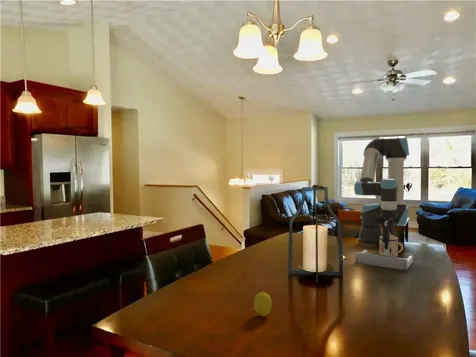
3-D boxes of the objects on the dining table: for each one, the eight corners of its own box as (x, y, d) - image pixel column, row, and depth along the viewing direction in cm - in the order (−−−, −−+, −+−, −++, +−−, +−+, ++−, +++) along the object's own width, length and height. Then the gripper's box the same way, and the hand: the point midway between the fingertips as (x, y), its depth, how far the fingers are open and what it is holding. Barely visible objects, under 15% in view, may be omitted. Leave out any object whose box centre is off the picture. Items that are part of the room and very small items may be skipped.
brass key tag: (338, 257, 178) (338, 255, 178) (346, 257, 177) (346, 255, 177) (338, 260, 171) (338, 258, 171) (347, 261, 170) (347, 259, 170)
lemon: (260, 311, 112) (260, 287, 112) (275, 315, 109) (274, 291, 109) (250, 317, 108) (250, 292, 108) (265, 322, 105) (264, 296, 104)
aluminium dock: (364, 255, 181) (364, 246, 180) (412, 262, 167) (412, 252, 167) (355, 262, 168) (355, 252, 167) (406, 270, 154) (406, 259, 154)
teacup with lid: (375, 254, 176) (375, 232, 176) (385, 252, 182) (385, 230, 181) (397, 259, 167) (397, 235, 166) (407, 256, 172) (407, 233, 172)
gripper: (385, 206, 185) (385, 248, 186) (375, 210, 168) (375, 256, 169) (400, 207, 181) (400, 250, 181) (392, 211, 164) (392, 259, 165)
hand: (388, 253), depth 175 cm, fingers closed on teacup with lid, 7 cm apart
